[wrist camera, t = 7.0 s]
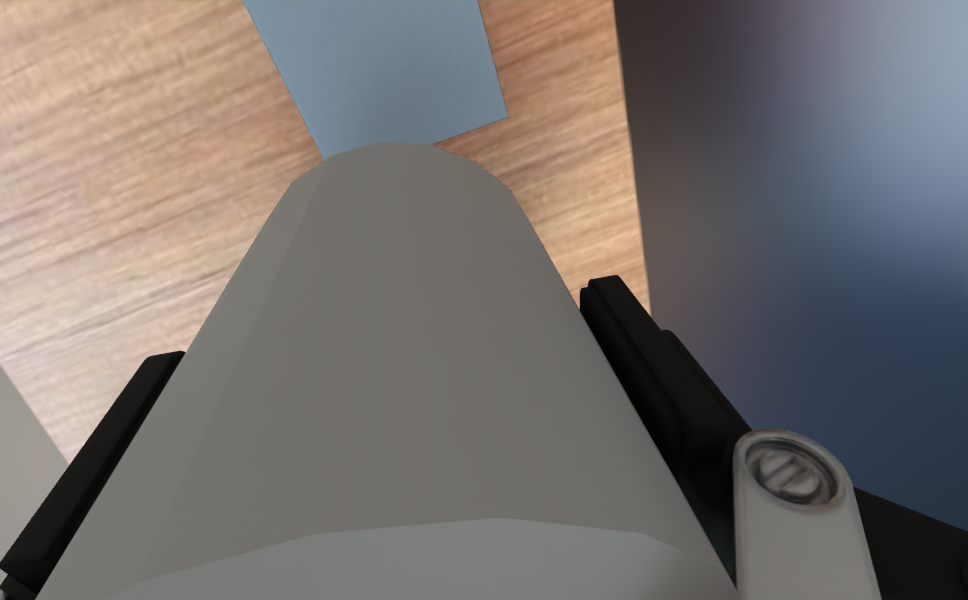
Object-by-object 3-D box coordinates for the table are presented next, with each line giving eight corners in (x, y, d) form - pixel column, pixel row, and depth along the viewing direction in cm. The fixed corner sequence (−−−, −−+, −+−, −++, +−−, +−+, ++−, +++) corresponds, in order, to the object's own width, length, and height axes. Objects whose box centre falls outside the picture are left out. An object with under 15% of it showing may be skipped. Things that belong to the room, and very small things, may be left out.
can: (358, 393, 16) (284, 1053, 6) (204, 206, 12) (-885, 1359, 2) (561, 309, 15) (860, 899, 5) (474, 80, 11) (1107, 815, 1)
